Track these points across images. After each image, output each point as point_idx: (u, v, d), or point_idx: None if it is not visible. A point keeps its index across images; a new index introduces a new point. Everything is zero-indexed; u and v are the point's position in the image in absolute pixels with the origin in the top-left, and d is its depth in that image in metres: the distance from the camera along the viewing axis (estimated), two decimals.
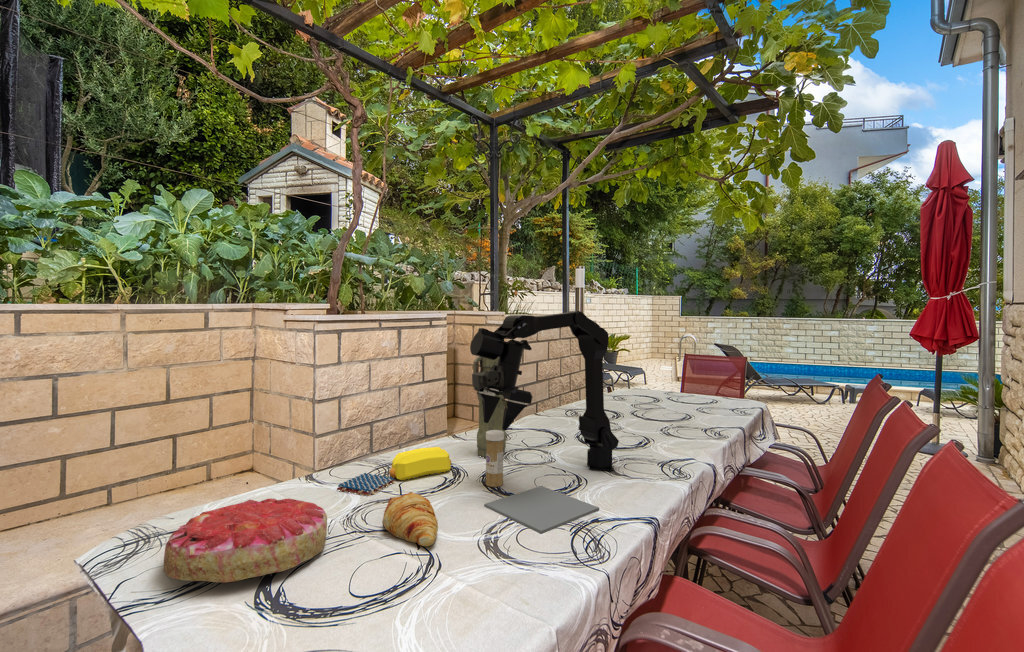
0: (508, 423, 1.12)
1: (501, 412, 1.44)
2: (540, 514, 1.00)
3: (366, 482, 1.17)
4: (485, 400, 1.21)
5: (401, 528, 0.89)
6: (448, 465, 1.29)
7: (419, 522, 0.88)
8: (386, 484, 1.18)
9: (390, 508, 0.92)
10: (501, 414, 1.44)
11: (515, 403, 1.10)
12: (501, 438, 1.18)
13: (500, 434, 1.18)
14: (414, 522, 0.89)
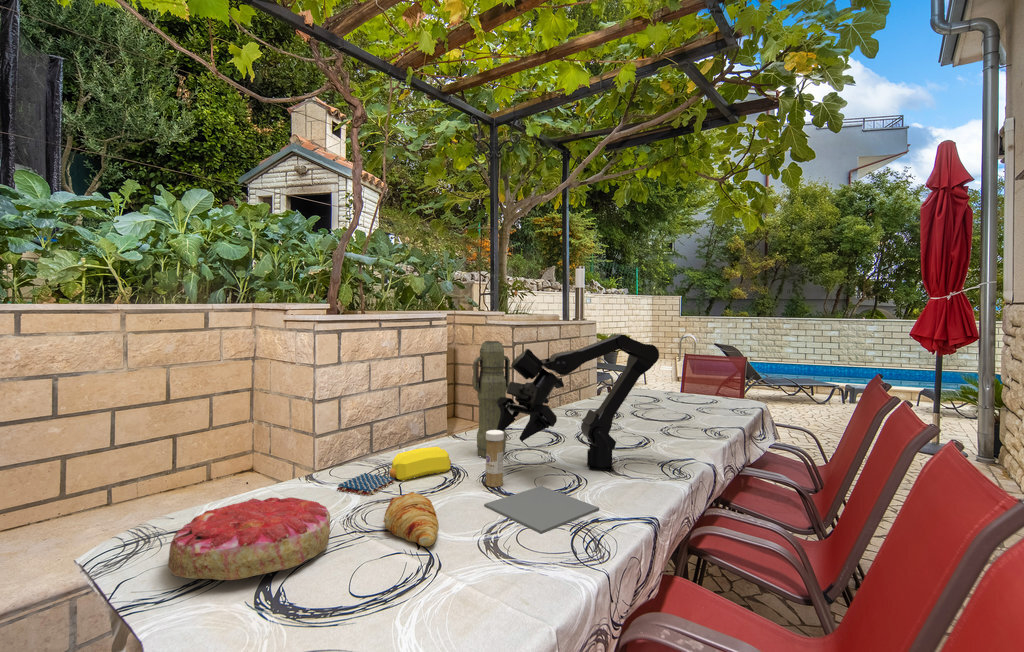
0: (526, 435, 1.20)
1: None
2: (540, 514, 1.00)
3: (366, 482, 1.17)
4: (505, 413, 1.29)
5: (402, 528, 0.89)
6: (448, 465, 1.29)
7: (420, 522, 0.88)
8: (386, 484, 1.18)
9: (391, 508, 0.92)
10: None
11: (542, 419, 1.20)
12: (501, 438, 1.18)
13: (500, 434, 1.18)
14: (415, 522, 0.89)
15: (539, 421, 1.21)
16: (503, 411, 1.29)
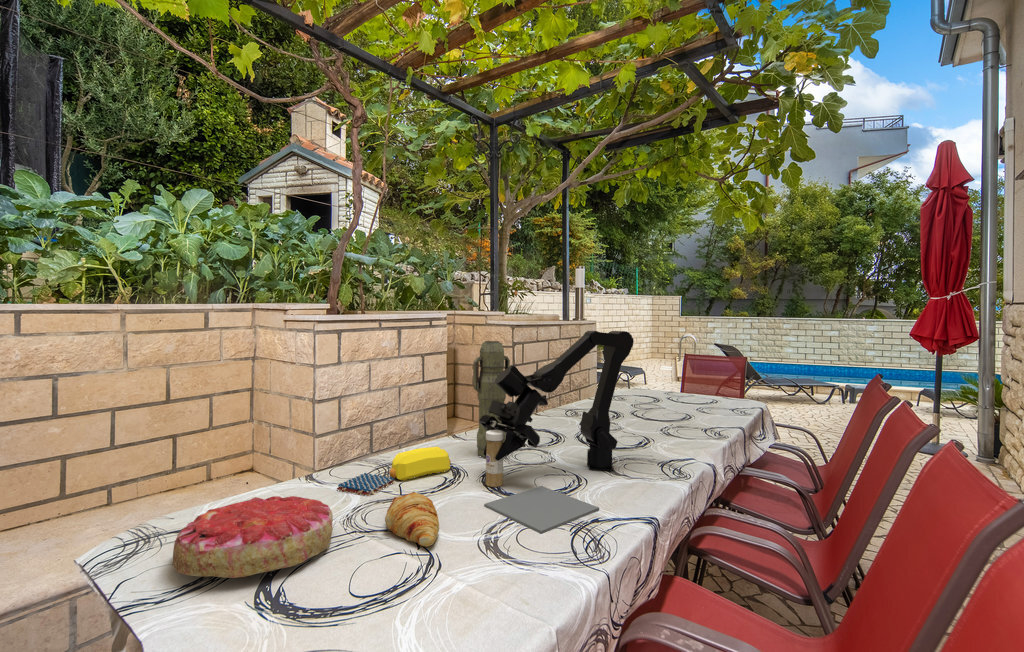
0: (502, 454, 1.18)
1: None
2: (540, 514, 1.00)
3: (366, 482, 1.17)
4: None
5: (403, 528, 0.89)
6: (448, 465, 1.29)
7: (420, 522, 0.88)
8: (386, 484, 1.18)
9: (392, 507, 0.92)
10: None
11: (518, 438, 1.17)
12: (501, 438, 1.18)
13: (500, 434, 1.18)
14: (415, 522, 0.89)
15: (515, 440, 1.19)
16: None
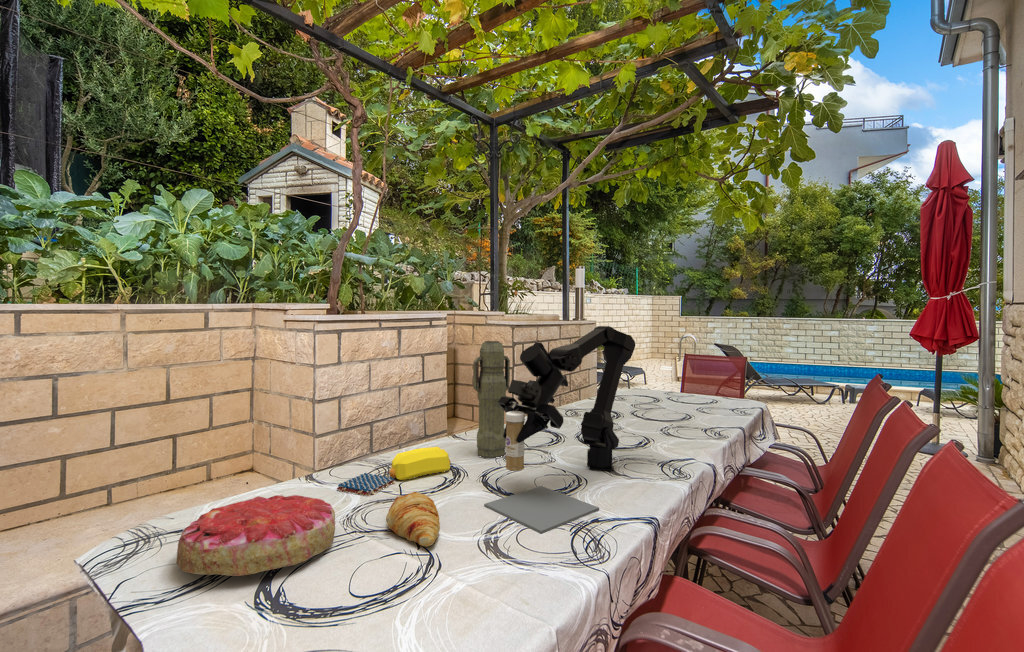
0: (524, 436, 1.11)
1: (501, 412, 1.44)
2: (540, 514, 1.00)
3: (366, 482, 1.17)
4: None
5: (403, 528, 0.89)
6: (447, 465, 1.29)
7: (420, 522, 0.88)
8: (386, 484, 1.18)
9: (393, 507, 0.92)
10: (501, 414, 1.44)
11: (540, 418, 1.10)
12: (522, 419, 1.11)
13: (521, 415, 1.11)
14: (415, 522, 0.89)
15: (537, 421, 1.12)
16: None
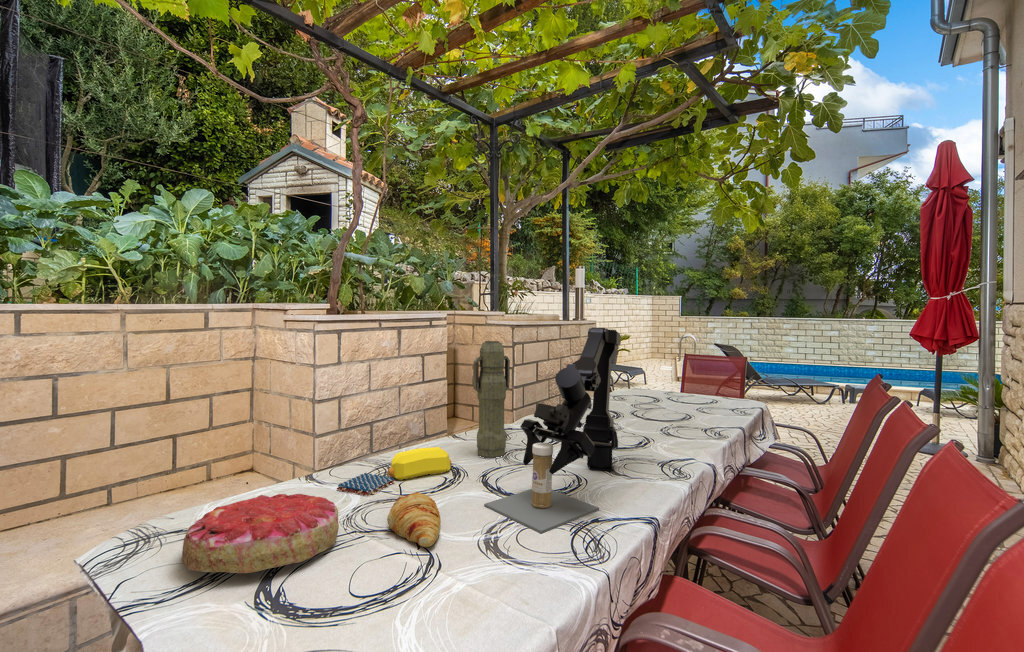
0: (558, 467, 1.01)
1: (501, 412, 1.44)
2: (540, 514, 1.00)
3: (366, 482, 1.17)
4: (532, 440, 1.09)
5: (404, 528, 0.89)
6: (447, 466, 1.29)
7: (420, 522, 0.88)
8: (386, 484, 1.18)
9: (394, 507, 0.93)
10: (501, 414, 1.44)
11: (576, 447, 1.01)
12: (550, 452, 1.04)
13: (549, 448, 1.04)
14: (416, 522, 0.88)
15: (572, 450, 1.03)
16: (530, 437, 1.09)
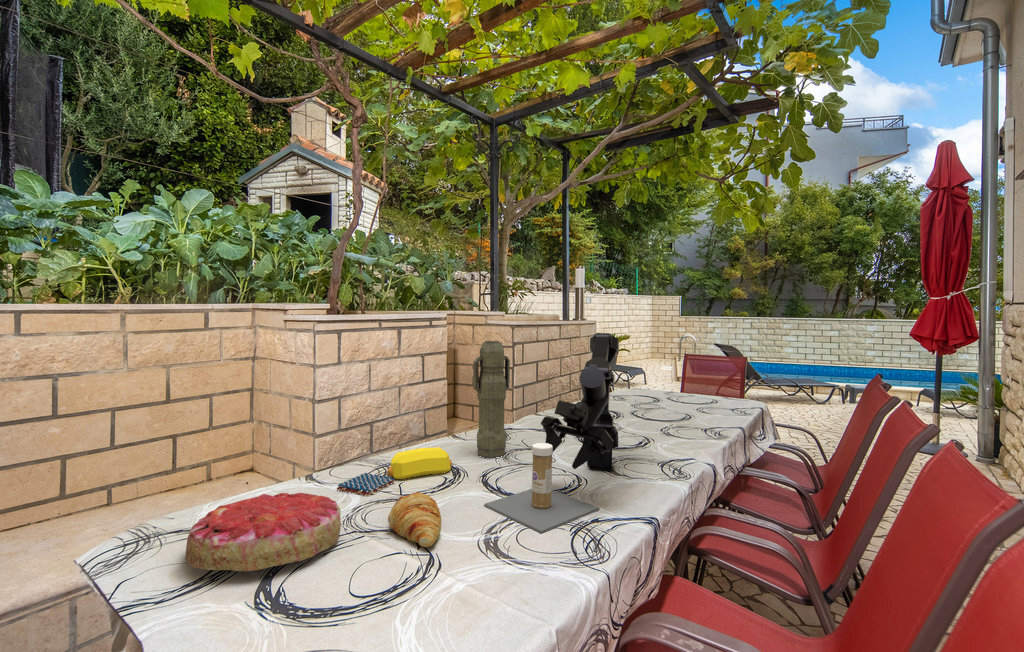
0: (580, 462, 1.06)
1: (501, 412, 1.44)
2: (540, 514, 1.00)
3: (366, 482, 1.17)
4: (551, 436, 1.14)
5: (404, 528, 0.89)
6: (447, 466, 1.28)
7: (421, 522, 0.88)
8: (386, 484, 1.18)
9: (395, 507, 0.93)
10: (501, 414, 1.44)
11: (597, 443, 1.05)
12: (550, 453, 1.04)
13: (549, 448, 1.03)
14: (416, 522, 0.88)
15: (593, 446, 1.07)
16: (549, 433, 1.14)
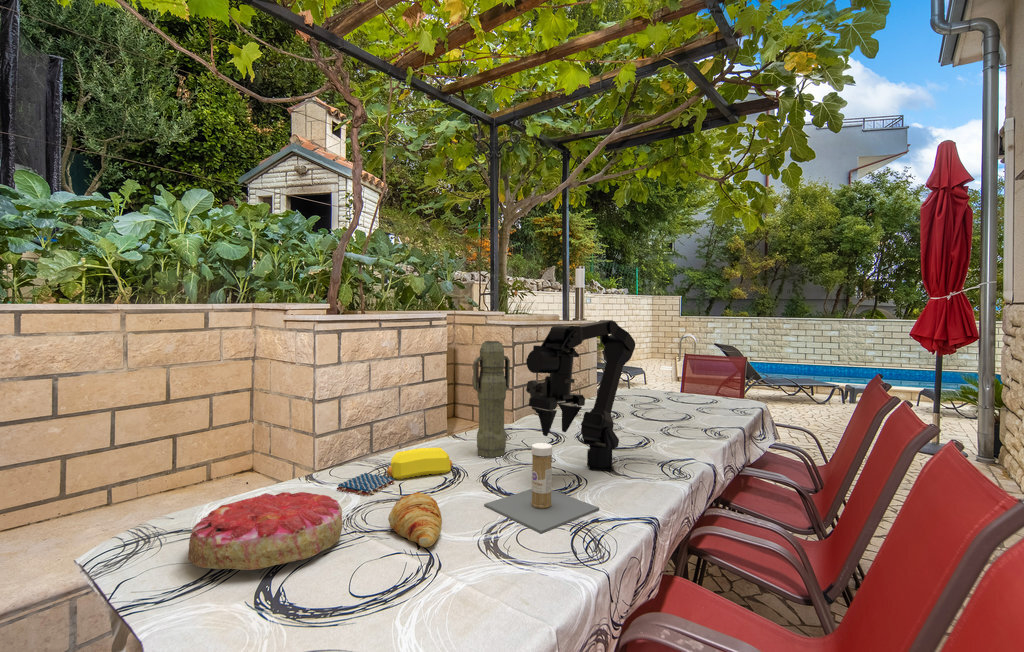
0: (545, 429, 1.18)
1: (501, 412, 1.44)
2: (540, 514, 1.00)
3: (366, 482, 1.17)
4: (562, 410, 1.27)
5: (404, 528, 0.89)
6: (447, 467, 1.28)
7: (421, 522, 0.88)
8: (386, 484, 1.17)
9: (396, 507, 0.93)
10: (501, 414, 1.44)
11: (537, 409, 1.17)
12: (550, 453, 1.04)
13: (549, 448, 1.03)
14: (416, 522, 0.88)
15: None
16: None
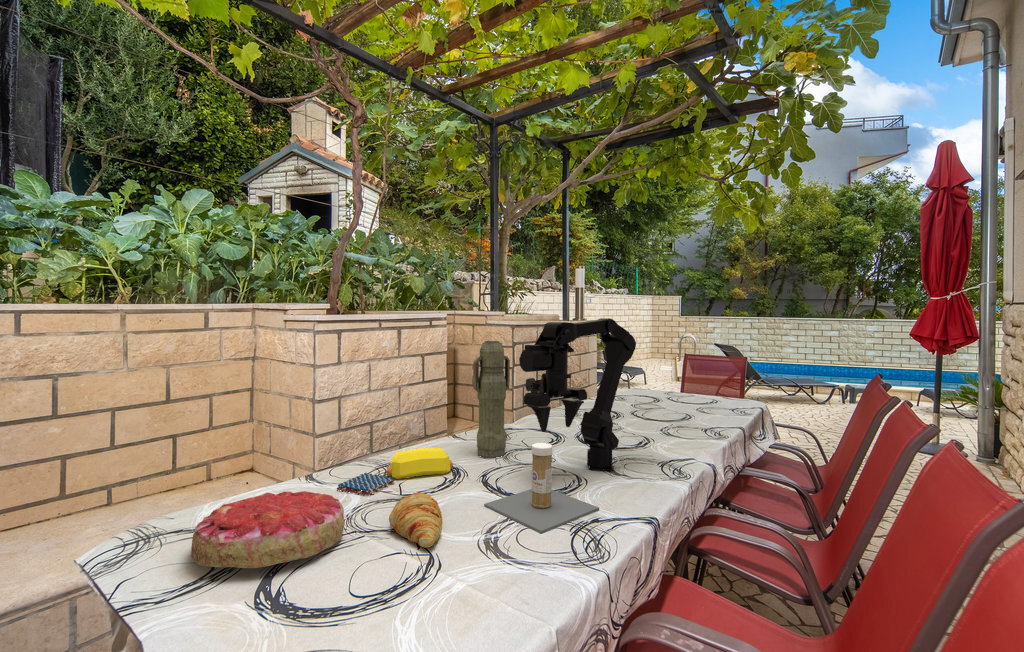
0: (542, 425, 1.21)
1: (501, 412, 1.44)
2: (540, 514, 1.00)
3: (366, 482, 1.17)
4: (565, 405, 1.29)
5: (404, 528, 0.89)
6: (446, 467, 1.27)
7: (421, 523, 0.88)
8: (386, 484, 1.17)
9: (396, 507, 0.93)
10: (501, 414, 1.44)
11: (532, 406, 1.20)
12: (550, 452, 1.04)
13: (549, 448, 1.03)
14: (416, 522, 0.88)
15: None
16: None
